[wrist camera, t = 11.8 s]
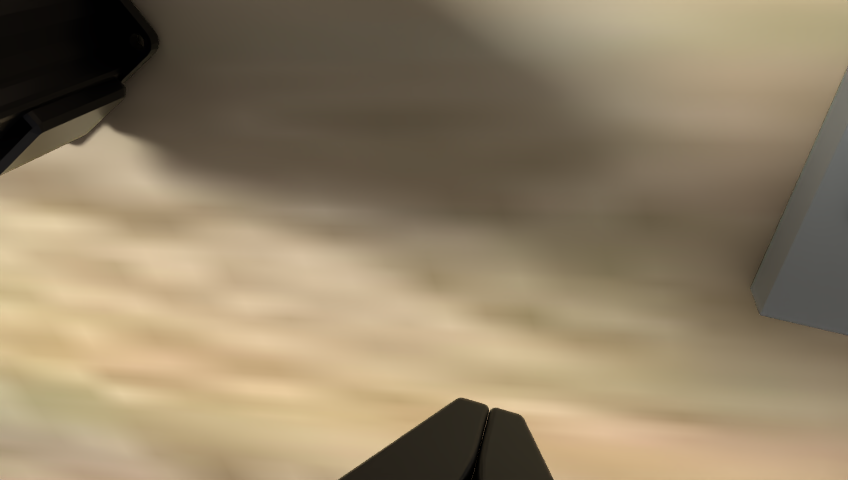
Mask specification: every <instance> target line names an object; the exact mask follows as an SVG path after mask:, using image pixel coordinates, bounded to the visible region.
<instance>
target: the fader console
mask: <svg viewBox="0 0 848 480" xmlns="http://www.w3.org/2000/svg"><path fill="white" fill-rule="evenodd" d="M750 289H751V292H752V294H753V297H754V300H755V303H756V306H757V309H758V311H759V314H760V315H762V316H766V317H770V318H775V319H779V320H783V321H788V322H792V323H796V324H801V325H805V326H809V327H814V328H818V329H822V330H826V331H831V332H835V333H839V334H844V335H848V68H847V70H846V72H845V74H844V77H843V79H842V81H841V83H840V86H839V88H838V90H837V93H836V95H835V97H834V99H833V102H832V104H831V106H830V108H829V111H828V113H827V115H826V118H825V120H824V122H823V124H822V127H821V129H820V131H819V133H818V136H817V138H816V140H815V142H814V145H813V147H812V149H811V152H810V154H809V156H808V158H807V161H806V163H805V165H804V167H803V170H802V172H801V174H800V176H799V179H798V181H797V183H796V186H795V188H794V190H793V192H792V195H791V197H790V199H789V201H788V204H787V206H786V208H785V211H784V213H783V215H782V217H781V220H780V222H779V224H778V226H777V229H776V231H775V233H774V235H773V238H772V240H771V242H770V245H769V247H768V249H767V251H766V254H765V256H764V258H763V260H762V263H761V265H760V267H759V270H758V272H757V274H756V276H755V279H754V281H753V283H752V285H751V288H750Z"/></svg>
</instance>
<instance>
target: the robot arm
mask: <svg viewBox="0 0 848 480" xmlns="http://www.w3.org/2000/svg"><path fill="white" fill-rule="evenodd" d="M138 34H139V35H140V36H141V37H142V38H143V40H144V47H143V46H142V45H140V43H139V42H138V39H137V35H138ZM158 45H159V41H158V37H157V34H156V33H155V31H154V30H153V28H152V27H151V26H150V25H149V23H148V22H147V21H146V20H145V19H144V17H143V16H142V15H141V14H140V12H139V11H138V10H137V9H136V8H135V6H134V5H133V4H132V3H131V1H130V0H0V175H3V174H5V173H7V172H9V171H11V170H13V169H15V168H17V167H19V166H21V165H23V164H26V163H28V162H30V161H32V160H34V159H36V158H38V157H40V156H42V155H44V154H46V153H49V152H51V151H53V150H55V149H57V148H59V147H61V146H63V145H65V144H67V143H69V142H72V141H74V140H76V139H78V138H80V137H82V136H84V135H86V134H87V133H88V132H89V131H90V130H91V129H92V128H93V127H94V126H96V125H97V124H98V123H99V122H100V121H101V120H102V119H103V118H104V117H105V116H106V115H107V114H108V113H109V112H110V111H111V110H112V109H113V108H114V107H115V106H117V105H118V104H119V103H120V102H121V101H122V100H123V99H124V98H125V95H126V87H125V86H124V85H123V83H124V82H125V81H127V80H128V79H129V78H130V77H131V76H132V75H133V74H134V73H135V72H136V71H137V70H138V69H139V68H140V67H141V66H142V65H143V64H144V63H145V62H146V61H147V60H148V59H149V58H150V57H151V56H152V55H153V54H154V53H155V52H156V51H157V49H158ZM488 414H489V415H488ZM487 417H488V419H487ZM486 421H487V423H486ZM485 425H486V427H485ZM484 429H485V430H484ZM483 433H484V434H483ZM482 437H483V438H482ZM481 441H482V442H481ZM480 445H481V446H480ZM479 449H480V450H479ZM474 468H475V469H474ZM473 472H474V473H473ZM472 476H473V477H472ZM338 480H553V478H552V476H551V473H550V471H549V469H548V467H547V465H546V463H545V461H544V459H543V457H542V455H541V453H540V451H539V449H538V447H537V445H536V443H535V441H534V438H533V436H532V434H531V432H530V430H529V428H528V426H527V424H526V422H525V420H524V418H523V417H522V416H521V415H519V414H516V413H513V412H509V411H506V410H503V409H499V408H492V409H491V410H490V412H489V408H488V407H487V405H485V404H482V403H479V402H475V401H472V400H468V399H465V398H458V399H456V400H454V401H453V402H451V403H450V404H448V405H447V406H445V407H444V408H442V409H441V410H440V411H438V412H437V413H435V414H434V415H432V416H431V417H429V418H428V419H426V420H425V421H423V422H422V423H420V424H419V425H418V426H416V427H415V428H413V429H412V430H410V431H409V432H407V433H406V434H404V435H403V436H401V437H400V438H398V439H397V440H396V441H394V442H393V443H391V444H390V445H388V446H387V447H385V448H384V449H382V450H381V451H379V452H378V453H376V454H375V455H374V456H372V457H371V458H369V459H368V460H366V461H365V462H363V463H362V464H360V465H359V466H357V467H356V468H354V469H353V470H351V471H350V472H349V473H347V474H346V475H344V476H343V477H341V478H340V479H338Z"/></svg>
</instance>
